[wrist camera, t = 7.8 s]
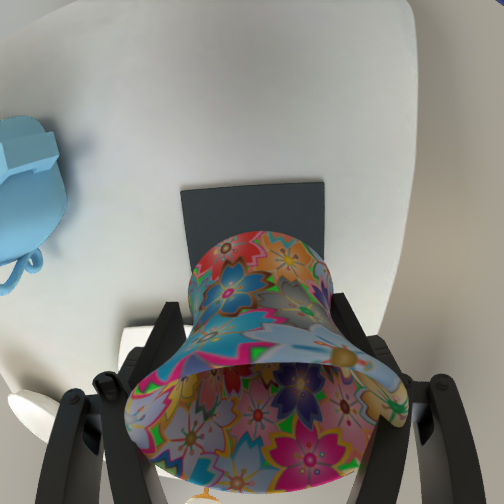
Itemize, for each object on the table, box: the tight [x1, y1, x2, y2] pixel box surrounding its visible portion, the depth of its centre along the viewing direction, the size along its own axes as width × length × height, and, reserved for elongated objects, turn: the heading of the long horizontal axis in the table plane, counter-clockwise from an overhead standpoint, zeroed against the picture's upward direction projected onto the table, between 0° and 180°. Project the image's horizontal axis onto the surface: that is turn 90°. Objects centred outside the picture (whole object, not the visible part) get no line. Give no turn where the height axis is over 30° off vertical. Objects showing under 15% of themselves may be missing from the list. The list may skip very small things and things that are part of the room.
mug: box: [124, 231, 409, 494], centre depth 13 cm, size 12×9×11 cm
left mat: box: [180, 182, 325, 273], centre depth 27 cm, size 13×12×1 cm
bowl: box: [7, 390, 60, 444], centre depth 37 cm, size 20×20×6 cm
